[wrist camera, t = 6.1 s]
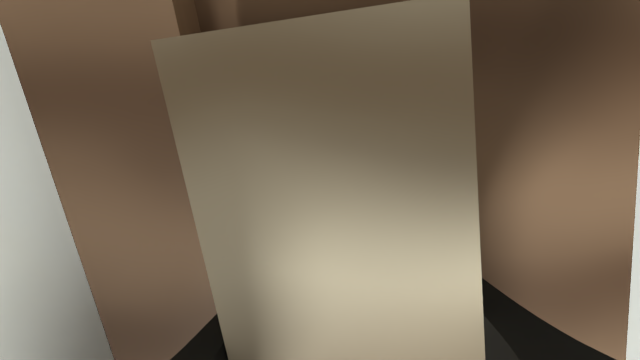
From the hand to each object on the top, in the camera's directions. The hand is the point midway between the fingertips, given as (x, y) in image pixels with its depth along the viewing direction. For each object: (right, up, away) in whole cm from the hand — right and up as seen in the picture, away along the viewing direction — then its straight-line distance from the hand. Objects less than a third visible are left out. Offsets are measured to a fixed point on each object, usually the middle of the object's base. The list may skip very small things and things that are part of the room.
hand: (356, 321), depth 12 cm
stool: (0, +1, +3) cm, 4 cm away
